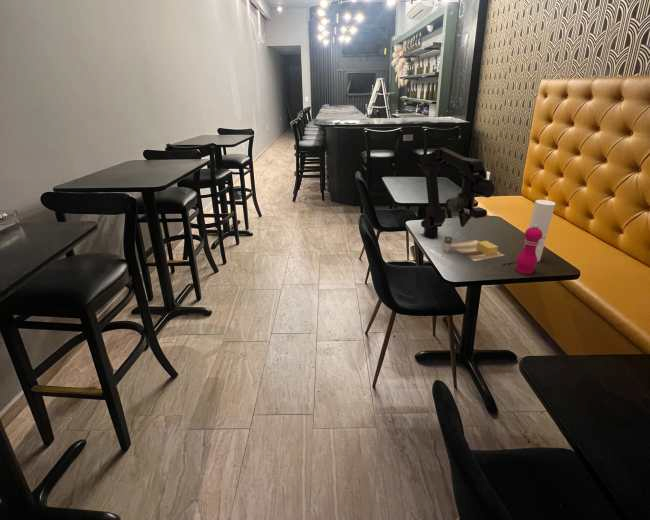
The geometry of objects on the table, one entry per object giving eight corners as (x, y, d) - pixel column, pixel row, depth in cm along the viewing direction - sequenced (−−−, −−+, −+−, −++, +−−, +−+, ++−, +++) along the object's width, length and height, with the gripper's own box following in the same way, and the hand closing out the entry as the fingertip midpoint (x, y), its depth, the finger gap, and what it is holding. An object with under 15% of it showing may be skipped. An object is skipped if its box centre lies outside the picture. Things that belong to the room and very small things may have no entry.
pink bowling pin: (536, 275, 153) (549, 228, 144) (516, 274, 154) (528, 226, 145) (531, 267, 159) (543, 221, 150) (512, 266, 160) (523, 220, 151)
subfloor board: (447, 247, 177) (447, 244, 176) (475, 242, 182) (475, 239, 181) (473, 264, 162) (474, 261, 161) (503, 258, 167) (504, 255, 166)
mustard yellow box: (475, 249, 171) (477, 242, 170) (484, 247, 173) (486, 240, 171) (487, 255, 165) (488, 248, 164) (496, 254, 167) (498, 246, 166)
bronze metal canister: (440, 253, 171) (443, 237, 167) (446, 252, 172) (449, 236, 168) (445, 256, 168) (447, 239, 165) (451, 255, 169) (454, 238, 166)
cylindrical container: (538, 256, 169) (553, 200, 158) (541, 262, 163) (556, 205, 152) (520, 253, 171) (534, 199, 160) (522, 260, 165) (536, 204, 154)
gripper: (438, 187, 164) (433, 222, 171) (469, 199, 148) (462, 237, 155) (458, 184, 168) (453, 218, 175) (491, 196, 153) (484, 233, 159)
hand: (462, 226), depth 166 cm, fingers closed
